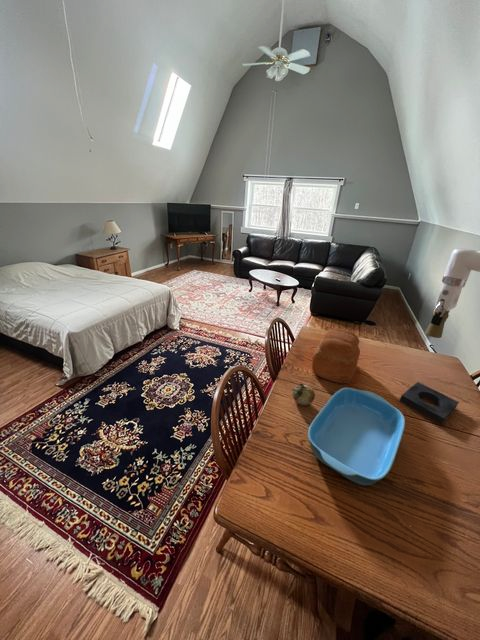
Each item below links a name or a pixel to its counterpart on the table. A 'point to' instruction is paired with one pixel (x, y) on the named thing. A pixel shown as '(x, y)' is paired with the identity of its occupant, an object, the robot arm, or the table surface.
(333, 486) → the table surface
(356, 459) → the casserole dish
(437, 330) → the cork
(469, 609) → the table surface
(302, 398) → the onion
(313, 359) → the bread
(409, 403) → the socket pad
